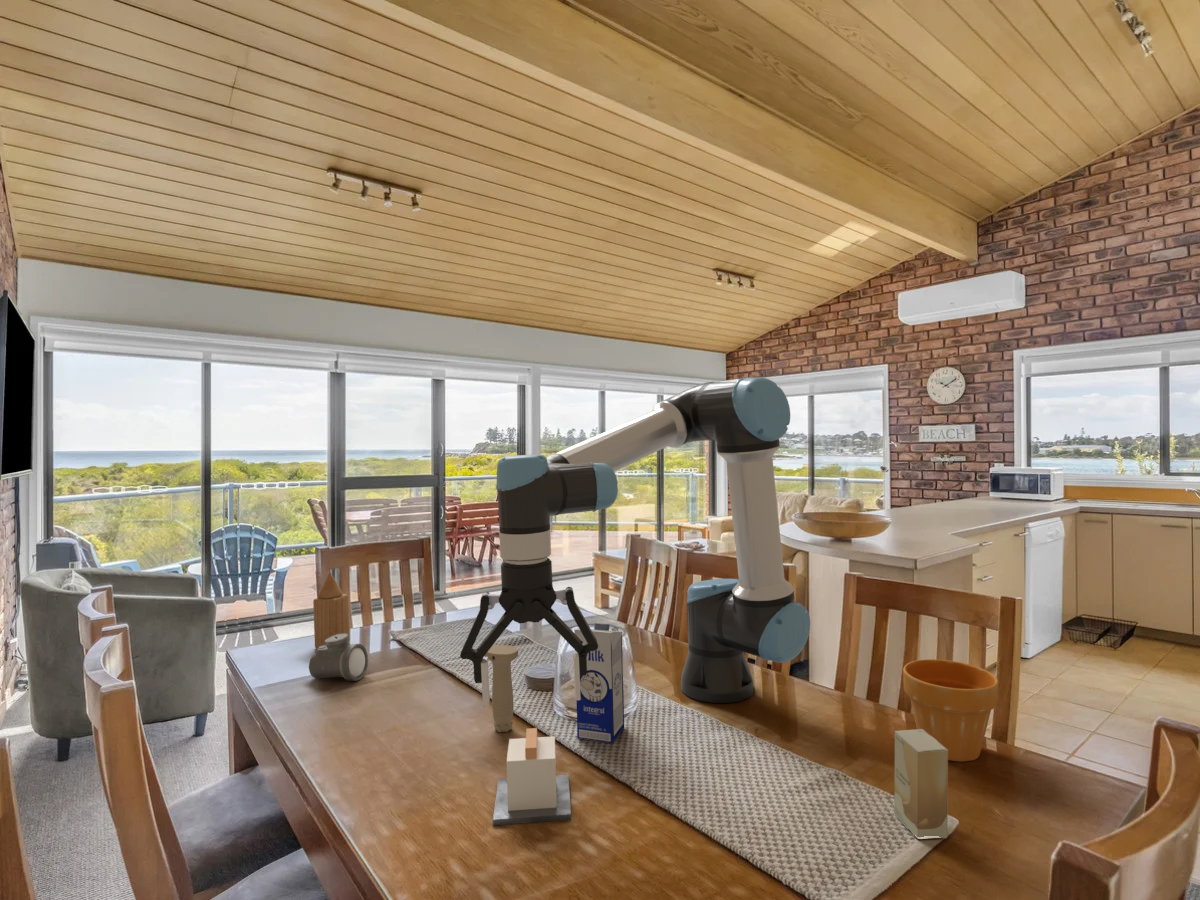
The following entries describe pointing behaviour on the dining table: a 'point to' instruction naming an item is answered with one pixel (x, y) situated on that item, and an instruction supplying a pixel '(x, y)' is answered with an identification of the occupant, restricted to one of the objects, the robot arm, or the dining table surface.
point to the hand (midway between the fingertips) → (532, 700)
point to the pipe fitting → (339, 659)
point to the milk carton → (602, 688)
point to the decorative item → (330, 612)
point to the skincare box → (921, 783)
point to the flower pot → (952, 703)
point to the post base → (533, 815)
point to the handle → (502, 685)
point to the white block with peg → (531, 772)
